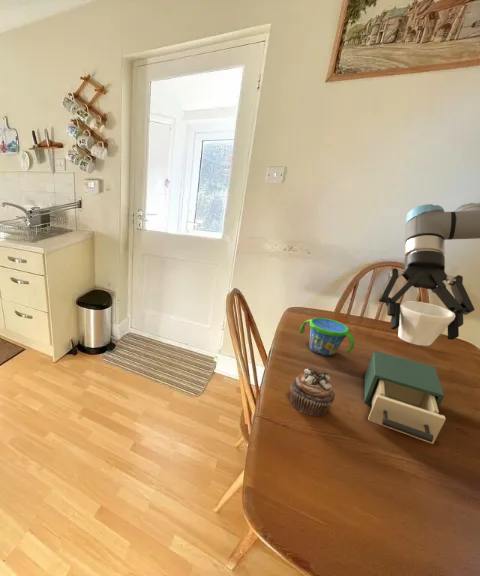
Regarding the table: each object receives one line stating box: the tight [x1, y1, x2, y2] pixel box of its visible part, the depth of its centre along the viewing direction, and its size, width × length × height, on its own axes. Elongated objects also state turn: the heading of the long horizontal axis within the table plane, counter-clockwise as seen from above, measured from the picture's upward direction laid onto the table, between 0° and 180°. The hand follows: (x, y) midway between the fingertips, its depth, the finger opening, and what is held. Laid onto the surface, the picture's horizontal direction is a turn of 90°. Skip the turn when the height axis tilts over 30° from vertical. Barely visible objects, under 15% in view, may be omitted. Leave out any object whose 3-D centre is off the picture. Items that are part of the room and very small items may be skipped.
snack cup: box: [299, 317, 355, 357], centre depth 106 cm, size 16×10×10 cm
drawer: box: [367, 379, 446, 445], centre depth 76 cm, size 18×11×7 cm, turn 141°
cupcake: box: [290, 368, 336, 417], centre depth 82 cm, size 10×10×10 cm
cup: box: [397, 300, 455, 347], centre depth 80 cm, size 10×10×9 cm
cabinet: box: [363, 350, 445, 408], centre depth 84 cm, size 15×13×9 cm
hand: (423, 332), depth 78 cm, fingers closed on cup, 10 cm apart
